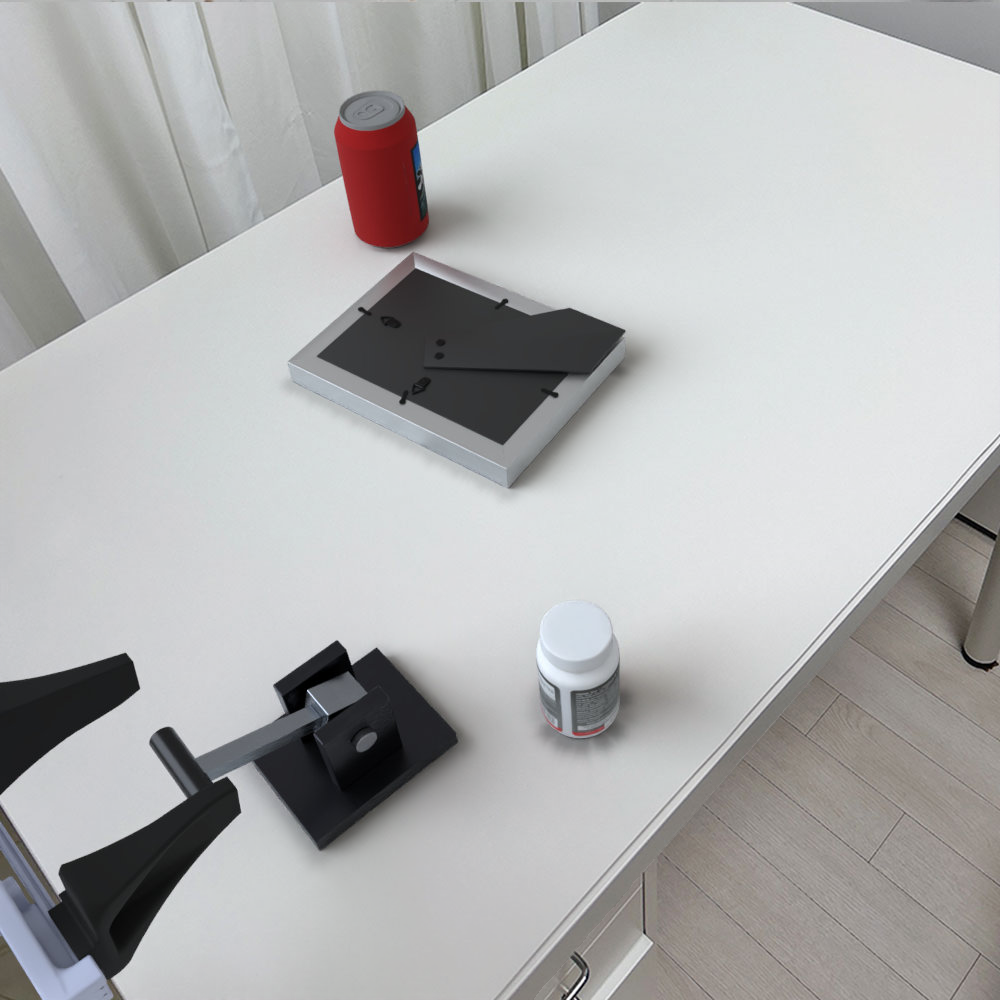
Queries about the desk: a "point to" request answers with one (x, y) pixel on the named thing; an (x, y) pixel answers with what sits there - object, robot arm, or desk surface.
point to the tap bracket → (352, 744)
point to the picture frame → (460, 365)
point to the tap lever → (254, 736)
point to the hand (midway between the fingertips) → (181, 729)
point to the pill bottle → (578, 669)
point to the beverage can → (382, 169)
